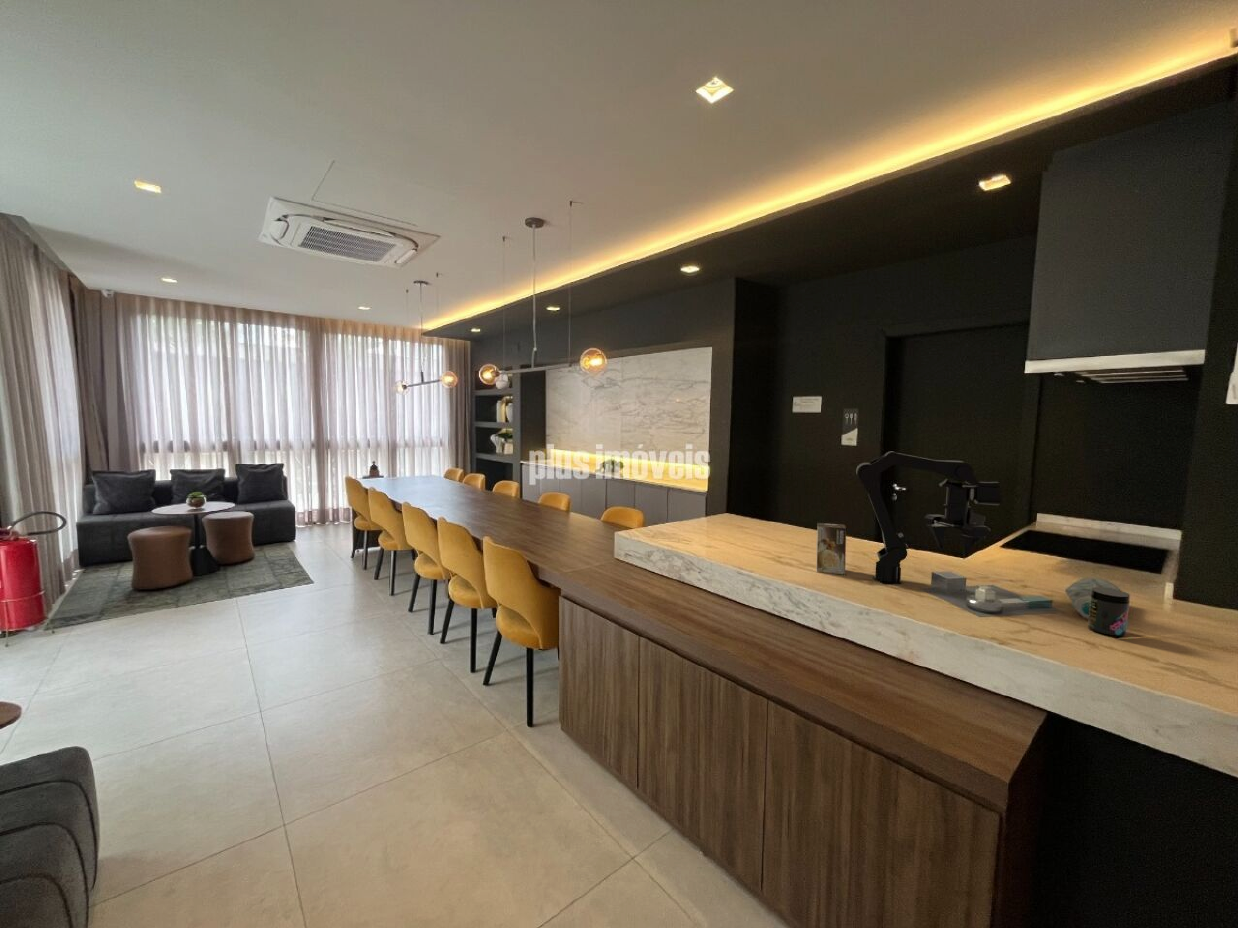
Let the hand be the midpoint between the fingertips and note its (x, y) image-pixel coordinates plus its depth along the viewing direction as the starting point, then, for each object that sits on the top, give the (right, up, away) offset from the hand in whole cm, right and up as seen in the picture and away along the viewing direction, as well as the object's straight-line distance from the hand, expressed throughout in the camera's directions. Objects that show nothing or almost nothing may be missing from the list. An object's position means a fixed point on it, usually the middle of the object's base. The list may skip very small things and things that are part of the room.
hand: (953, 552), depth 150 cm
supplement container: (+17, -14, -31) cm, 38 cm away
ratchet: (+5, -12, -15) cm, 20 cm away
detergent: (+27, -13, -17) cm, 34 cm away
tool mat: (+4, -12, -9) cm, 16 cm away
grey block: (-3, -11, -2) cm, 12 cm away
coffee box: (-29, -10, +19) cm, 37 cm away
